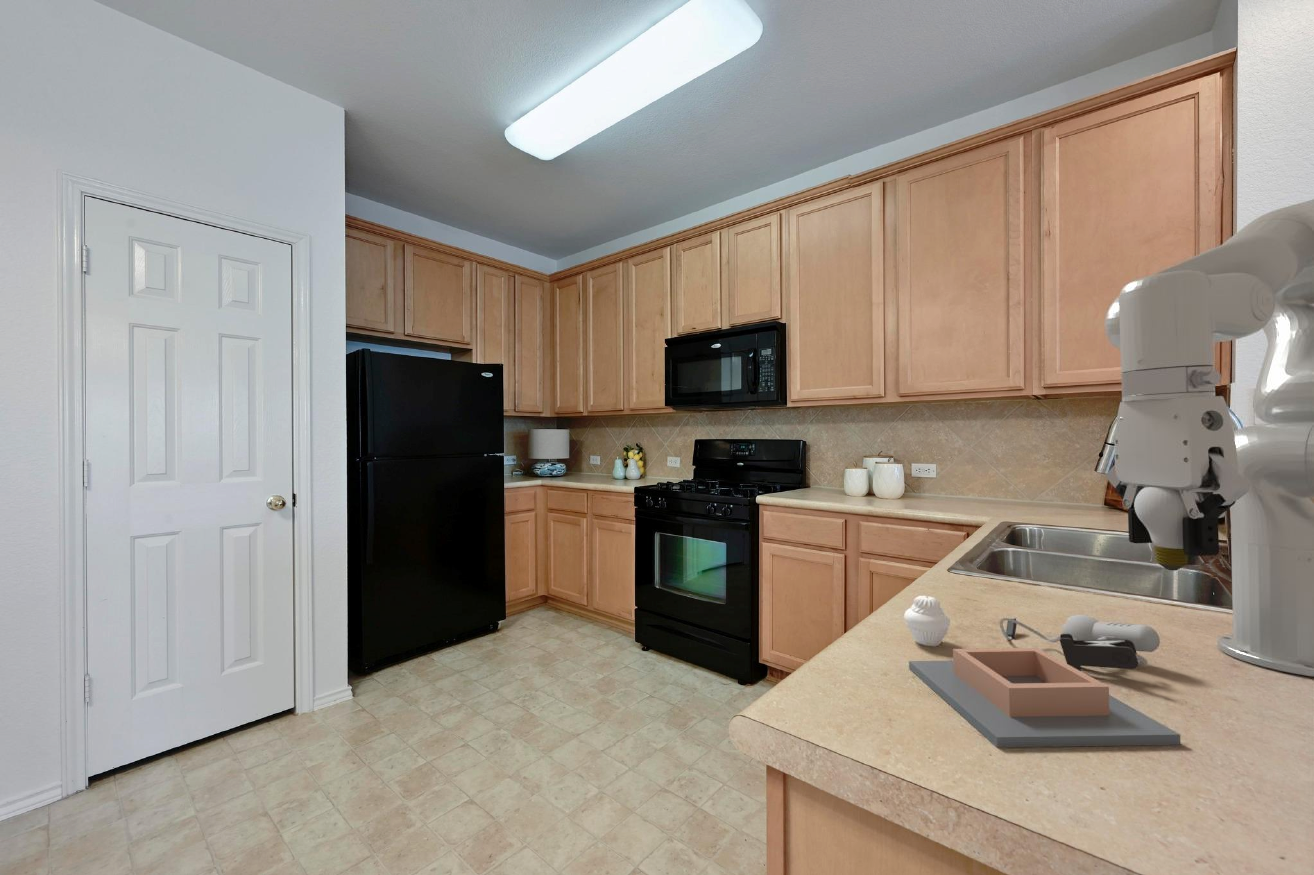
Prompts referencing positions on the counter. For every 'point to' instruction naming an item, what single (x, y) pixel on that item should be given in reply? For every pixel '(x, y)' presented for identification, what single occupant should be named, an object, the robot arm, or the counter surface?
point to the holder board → (1036, 701)
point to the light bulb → (1164, 523)
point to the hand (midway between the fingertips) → (1171, 546)
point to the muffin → (927, 621)
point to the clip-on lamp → (1098, 642)
